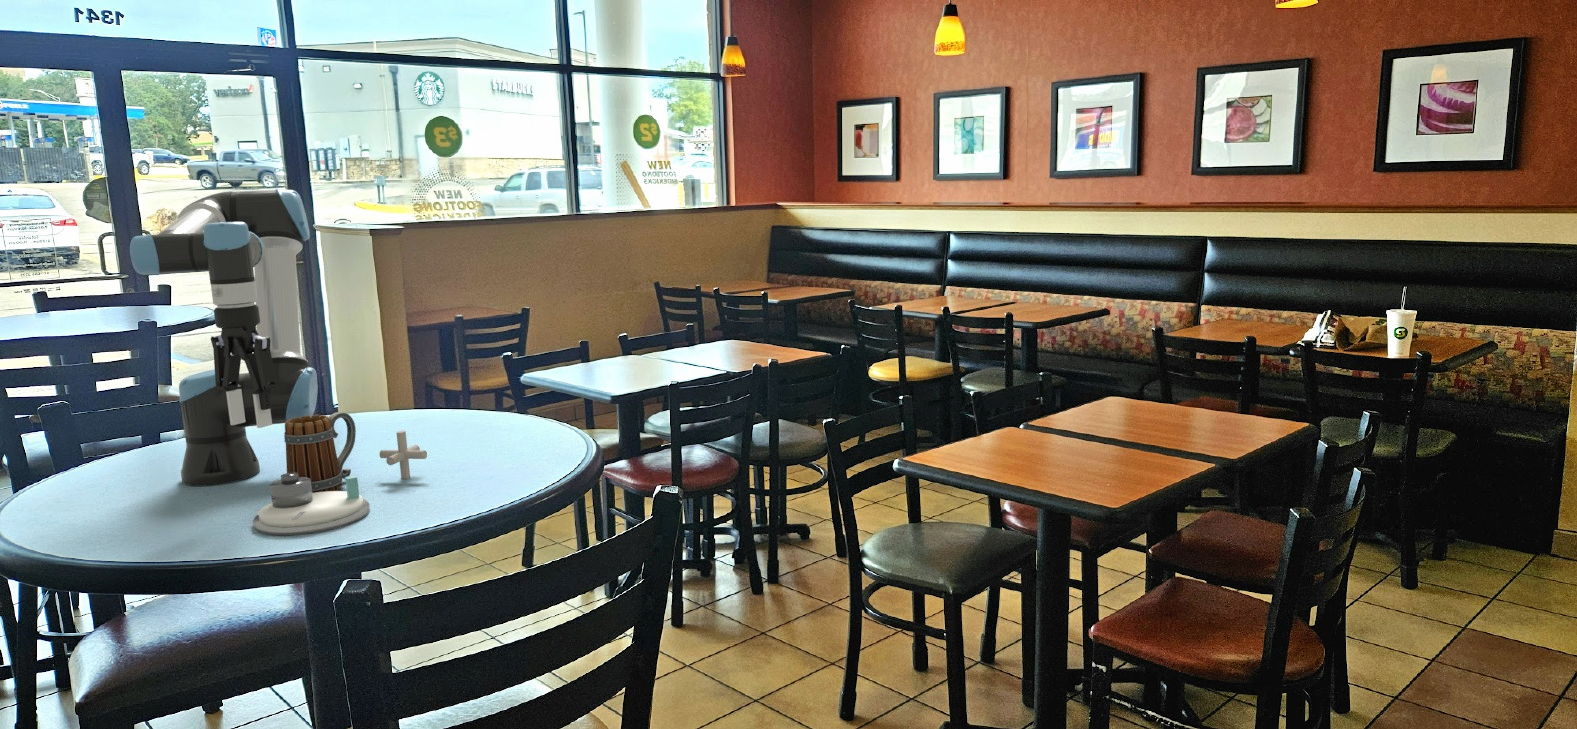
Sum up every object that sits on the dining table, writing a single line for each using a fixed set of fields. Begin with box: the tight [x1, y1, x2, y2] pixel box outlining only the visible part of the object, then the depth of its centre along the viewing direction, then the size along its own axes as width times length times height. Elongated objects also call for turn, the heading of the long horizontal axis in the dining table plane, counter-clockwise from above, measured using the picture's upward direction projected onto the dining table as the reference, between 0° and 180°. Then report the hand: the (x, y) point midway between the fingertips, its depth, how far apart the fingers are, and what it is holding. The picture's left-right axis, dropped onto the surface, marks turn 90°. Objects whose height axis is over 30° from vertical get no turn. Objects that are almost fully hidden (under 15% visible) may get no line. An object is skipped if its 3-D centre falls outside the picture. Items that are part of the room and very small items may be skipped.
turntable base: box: [252, 498, 371, 537], centre depth 202 cm, size 20×20×1 cm
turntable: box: [257, 475, 364, 527], centre depth 202 cm, size 18×18×5 cm
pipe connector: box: [378, 430, 428, 480], centre depth 227 cm, size 10×10×10 cm
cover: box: [269, 472, 313, 508], centre depth 204 cm, size 7×7×6 cm
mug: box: [283, 411, 357, 493], centre depth 222 cm, size 16×11×15 cm
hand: (251, 424), depth 206 cm, fingers open, 7 cm apart
